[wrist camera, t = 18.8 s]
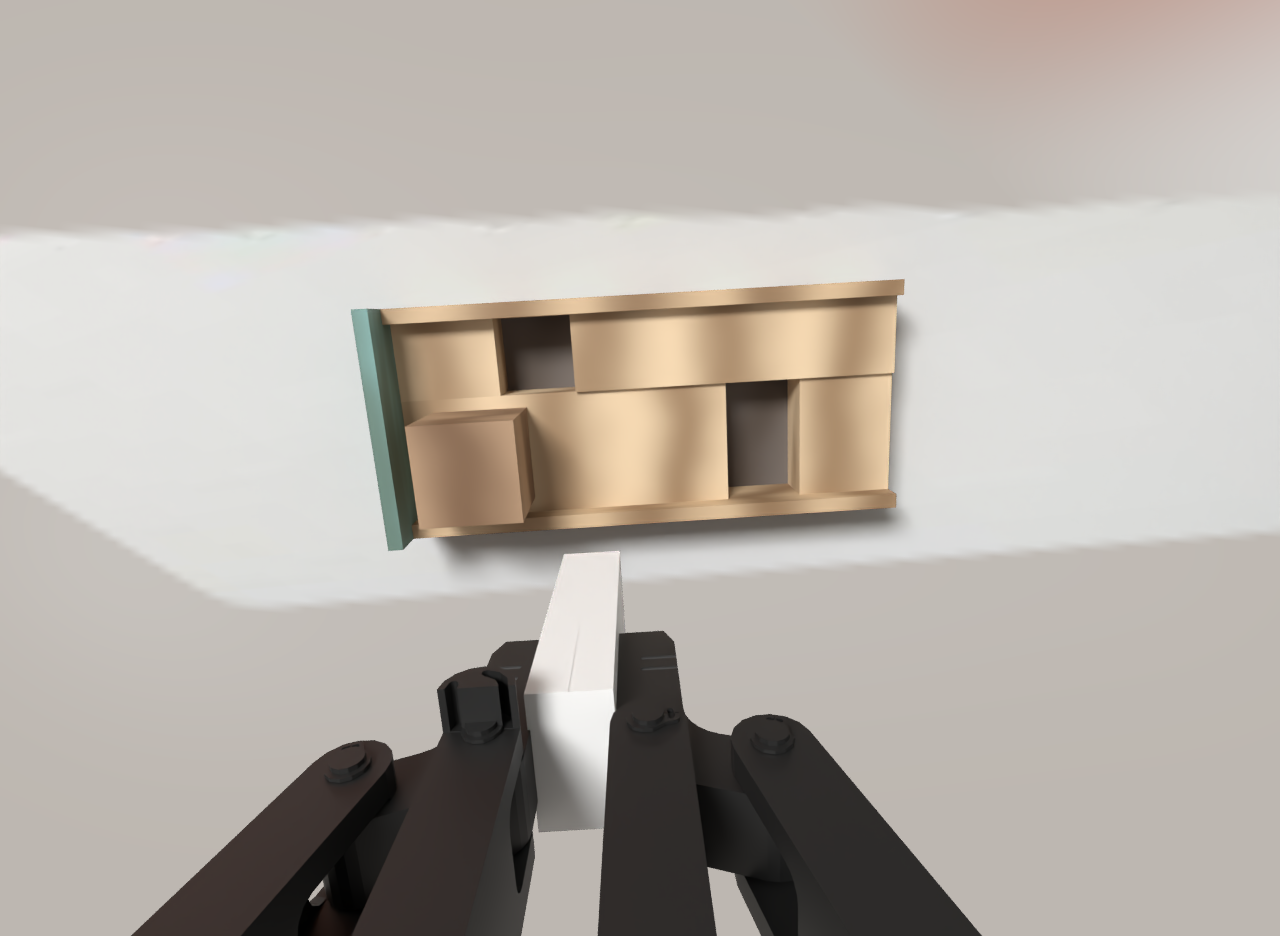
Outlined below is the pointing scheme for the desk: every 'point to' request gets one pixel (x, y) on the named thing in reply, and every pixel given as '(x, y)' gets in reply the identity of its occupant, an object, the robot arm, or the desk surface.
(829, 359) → the tray
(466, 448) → the block
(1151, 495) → the desk surface
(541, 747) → the robot arm
